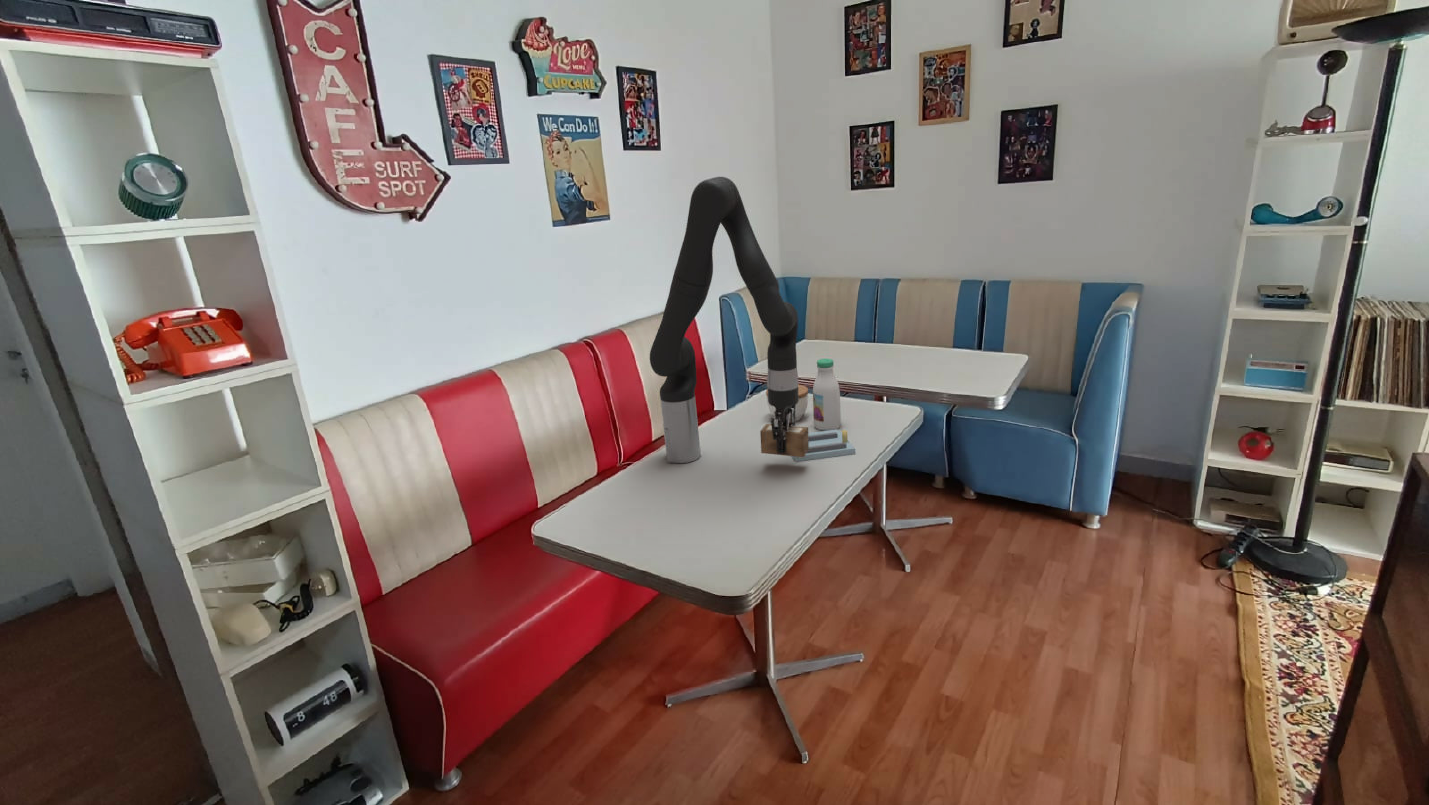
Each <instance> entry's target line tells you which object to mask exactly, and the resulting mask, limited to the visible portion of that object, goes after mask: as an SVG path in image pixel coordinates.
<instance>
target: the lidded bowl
mask: <svg viewBox="0 0 1429 805" xmlns="http://www.w3.org/2000/svg"><path fill="white" fill-rule="evenodd" d="M765 394H766V402H767V403H766V404H767V407H768V409H769V412H770V413H771V415H772V416H773V417H774V412H775V409H776V408H775V407H774V406H772V405H770V404H769V403H768V388H767V389H766V391H765ZM798 395H799V401H798V403H797V404H796V407H795V422H797V421H799V420H800V419H801V418H802V416H804V414H805V412H806V411H807V408H808V402H809V388H808V387H807V386H805V385H802V384H798Z"/></svg>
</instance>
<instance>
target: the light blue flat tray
mask: <svg viewBox="0 0 1429 805" xmlns="http://www.w3.org/2000/svg"><path fill="white" fill-rule="evenodd" d="M808 438H809V450H808V451H807V453H806V454H805V456H804V457H796V456H791V457H792V458H793V460H794V461H795V463H796V462H805V461H811V460H819V459H826V458H832V457H841V456H848V455H855V454H856V448H855V447H854V445H853V444H852V443H851V442H850V440H848V439H849V438H848V430H846V429H844V430H841V431H840V429H839V428H838V429H835V430H820V431H816V432H815V431H814V432H813V431H812V432H808Z"/></svg>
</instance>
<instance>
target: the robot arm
mask: <svg viewBox="0 0 1429 805" xmlns="http://www.w3.org/2000/svg"><path fill="white" fill-rule="evenodd" d="M747 214H748V213H747V211H746V209H745V205H744V202H743V200H742V197H741V194H740V192H739V189H738V187H737V185H736V184H735V183H734V181H733V180H732V179H730V178H728V177H726V176H716V177H712V178H708V179H704V180H702V181H701V182H698V184H697V185H695V187H694V189H693V191H692V194H691V197H690V202H689V209H688V214H687V221H686V228H685V232H684V233H685V234H684V236H683V237H684V238H683V242H682V245H681V248H680V251H679V255H678V259H677V261H676V266H675V268H674V270H673V271H674V272H673V276H672V280H671V284H670V287H669V292H668V296H667V300H666V302H665V303H666V304H665V307H664V311H663V314H662V318H661V322H660V324H659V327H658V329H657V333H656V335H655V337H654V340H653V342H652V345H651V348H650V352H649V363H650V367H651V369H652V371H653V372H654V373H655V374H656V375H657V376H659V377H665V378H666V379H665V381H664V382H663V383H662V384H661V386H660V389H659V398H660V408H661V415H662V422H663V423H662V426H663V435H664V436H663V437H664V444H665V453H666V454H665V455H666V459H667V463H668V464H670V463H672V464H673V463H674V464H687V463H692V462H694V461H697V460H698V459H700V458H701V457H702V454H701V444H700V434H699V425H698V424H699V422H698V414H697V413H698V412H697V404H696V395H695V394H696V390H695V389H696V387H697V379H698V378H697V364H696V363H697V362H696V360H697V359H696V352H695V349H694V346H693V344H692V343H691V340H689V338H687V337H686V333H687V331H688V329H689V327H690V325H691V324H692V323H693V321H694V320H695V319H696V316H697V315H698V314H699V312H700V310H702V308H703V306H704V304H705V303H706V299H707V296H708V295H709V289H710V286H711V283H712V279H713V273H714V261H713V260H714V259H713V249H714V243H715V239H716V236H717V233H718V231H719V228H720V225H721V226H722V228H723V229H724V230H725V232H726V234H727V235H728V239H729V242H730V244H731V248H732V250H733V256H734V259H735V263H736V266H737V269H738V272H739V275H740V277H741V279H742V281H743V282H744V284H745V286H746V288H747V290H748V292H749V294H750V295H751V296H752V299H753V302H754V305H755V308H756V311H757V314H758V317H759V320H760V321H761V324H762V325H763V327H764V329H765V330H766V331H767V332H768V333H769V338H770V340H769V344H768V347H767V354H766V355H767V356H766V357H767V375H766V376H767V378H766V381H767V382H766V384H767V389H768V403H769V404H770V405H772V406H774V407H775V408H776V409H775V412H774V416H773V418H771V419H770V424H771V426H772V434H773V440H777V453H780V454H785V453H786V431H787V430H788V429H789V426H795V425H796V421H795V407H796V404H797V403H798V401H799V395H798V385H799V374H798V367H797V366H798V364H797V361H798V360H797V339H798V338H797V337H798V326H799V324H798V323H799V317H798V311H797V309H796V308H795V307H794V306H793V304H792V303H790V302H789V301H788V302H787V301H784V299H783V298H782V295H781V293H780V285H779V281H778V279H777V277H776V275H775V273H774V272H773V269H772V268H771V265H770V264H769V262H768V260H767V259H766V256H765V254H764V252H763V251H762V249H761V248H762V247H760V244H759V242H758V240H757V237H756V236H755V233H754V230H753V227H752V225H751V223H750V220H749V217H748V215H747ZM768 403H767V404H768ZM783 426H785V427H783ZM778 433H780V435H778Z"/></svg>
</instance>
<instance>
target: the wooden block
mask: <svg viewBox="0 0 1429 805" xmlns="http://www.w3.org/2000/svg"><path fill="white" fill-rule="evenodd" d="M783 427H785V426H783ZM759 432H760V453H761V454H767V455H774V456H775V455H777V456H788V457H792V456H796V457H804V456H805V454H806V453H807V451H808V450H809V438H808V433H809V427H807V426H795V425H794V426H789V429H788V430H787V431H786V453H785V454H780V453H777V440H773V434H772V426H771V423H766V424H765V425H764V426H763V427H762V428H761V429H760V431H759ZM778 435H780V433H778Z"/></svg>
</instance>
